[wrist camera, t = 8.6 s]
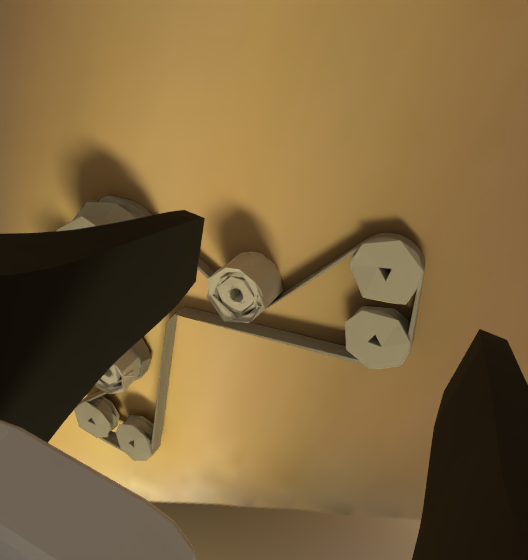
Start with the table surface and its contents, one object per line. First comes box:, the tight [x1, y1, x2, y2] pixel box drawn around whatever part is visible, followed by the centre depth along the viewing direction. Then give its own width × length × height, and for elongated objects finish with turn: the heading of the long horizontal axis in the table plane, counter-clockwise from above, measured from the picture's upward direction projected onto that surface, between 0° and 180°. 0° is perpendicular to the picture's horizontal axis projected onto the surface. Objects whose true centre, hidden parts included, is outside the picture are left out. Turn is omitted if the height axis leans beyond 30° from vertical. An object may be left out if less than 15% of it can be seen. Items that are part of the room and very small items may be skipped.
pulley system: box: [57, 195, 425, 461], centre depth 28 cm, size 27×5×15 cm
